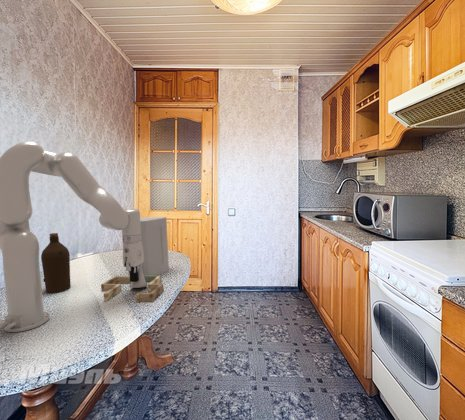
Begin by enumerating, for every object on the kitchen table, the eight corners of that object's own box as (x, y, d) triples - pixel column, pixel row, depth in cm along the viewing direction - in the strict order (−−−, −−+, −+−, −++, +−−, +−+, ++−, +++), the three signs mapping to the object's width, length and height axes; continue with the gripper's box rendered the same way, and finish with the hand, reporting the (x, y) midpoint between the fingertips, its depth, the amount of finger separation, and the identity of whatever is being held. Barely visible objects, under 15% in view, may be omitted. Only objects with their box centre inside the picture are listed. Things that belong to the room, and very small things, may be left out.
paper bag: (125, 280, 137) (121, 222, 135) (132, 271, 152) (128, 218, 150) (166, 277, 140) (163, 220, 137) (169, 268, 154) (166, 216, 152)
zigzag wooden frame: (151, 302, 110) (151, 294, 110) (87, 300, 114) (86, 293, 113) (172, 281, 133) (172, 275, 133) (117, 280, 137) (117, 274, 136)
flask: (140, 288, 121) (140, 264, 122) (125, 288, 123) (126, 264, 124) (150, 286, 128) (150, 263, 129) (136, 286, 130) (136, 263, 131)
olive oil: (77, 285, 132) (73, 231, 130) (61, 294, 122) (56, 235, 120) (55, 285, 133) (50, 231, 131) (38, 293, 123) (32, 235, 121)
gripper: (131, 242, 113) (134, 287, 114) (148, 235, 127) (150, 275, 129) (113, 242, 114) (116, 287, 115) (132, 235, 129) (134, 275, 130)
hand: (134, 281), depth 122 cm, fingers closed
